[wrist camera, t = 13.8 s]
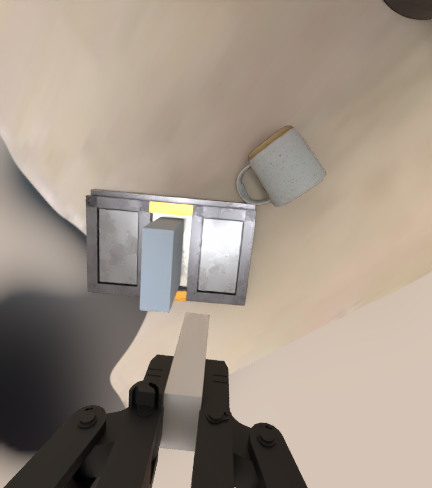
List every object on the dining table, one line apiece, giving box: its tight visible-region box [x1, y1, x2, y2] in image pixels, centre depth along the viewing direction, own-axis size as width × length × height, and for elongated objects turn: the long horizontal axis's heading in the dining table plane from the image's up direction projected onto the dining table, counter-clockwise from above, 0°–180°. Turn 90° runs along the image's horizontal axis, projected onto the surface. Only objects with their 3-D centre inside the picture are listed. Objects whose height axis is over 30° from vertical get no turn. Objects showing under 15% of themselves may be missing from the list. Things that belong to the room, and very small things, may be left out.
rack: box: [86, 190, 256, 306], centre depth 41 cm, size 16×24×3 cm, turn 85°
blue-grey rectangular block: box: [140, 217, 184, 313], centre depth 36 cm, size 10×4×10 cm, turn 175°
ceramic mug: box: [236, 126, 326, 207], centre depth 36 cm, size 11×8×8 cm
